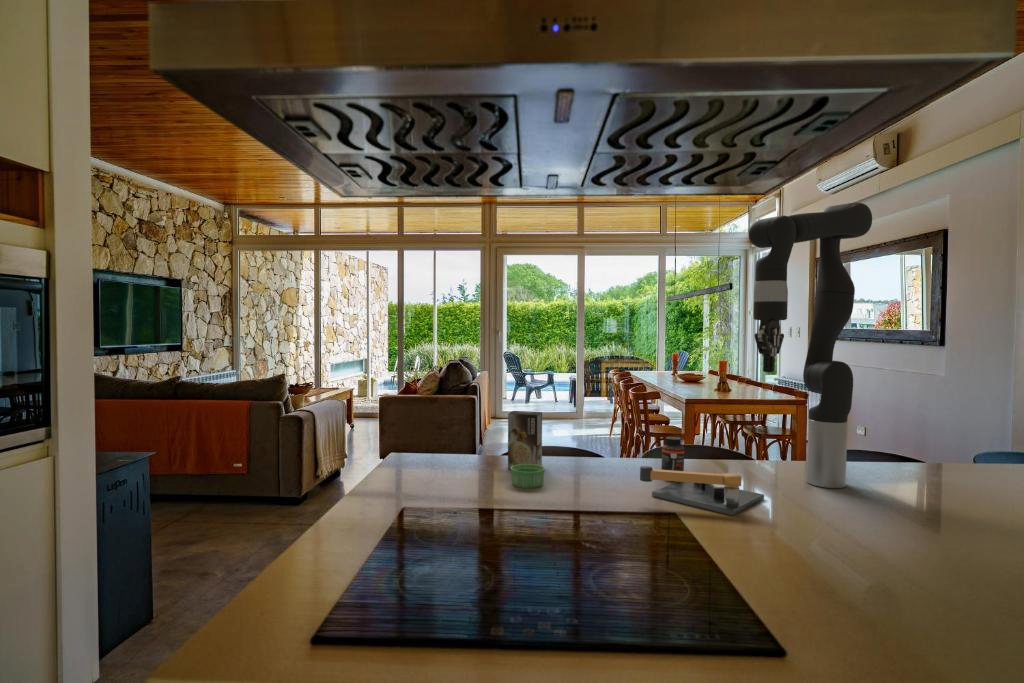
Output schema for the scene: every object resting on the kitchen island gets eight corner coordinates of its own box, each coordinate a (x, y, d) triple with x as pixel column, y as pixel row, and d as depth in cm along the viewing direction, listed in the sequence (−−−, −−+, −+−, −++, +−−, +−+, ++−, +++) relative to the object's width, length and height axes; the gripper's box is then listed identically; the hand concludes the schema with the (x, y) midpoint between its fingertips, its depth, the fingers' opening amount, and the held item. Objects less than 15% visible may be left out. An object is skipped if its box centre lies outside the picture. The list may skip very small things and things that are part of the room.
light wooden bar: (739, 485, 134) (740, 472, 134) (742, 489, 131) (742, 476, 130) (640, 477, 140) (640, 465, 140) (639, 481, 136) (640, 469, 136)
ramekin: (545, 480, 156) (545, 464, 156) (544, 489, 147) (544, 472, 147) (511, 479, 157) (512, 463, 157) (508, 488, 148) (509, 471, 148)
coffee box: (542, 466, 172) (543, 411, 172) (537, 471, 166) (538, 414, 165) (512, 463, 175) (513, 410, 174) (506, 468, 169) (507, 413, 168)
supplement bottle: (678, 483, 156) (679, 440, 155) (657, 479, 159) (658, 437, 159) (687, 478, 160) (687, 437, 160) (666, 475, 164) (667, 434, 164)
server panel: (689, 482, 156) (689, 463, 156) (765, 498, 142) (765, 477, 142) (652, 496, 143) (652, 475, 143) (732, 515, 129) (732, 492, 129)
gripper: (776, 298, 134) (774, 374, 134) (796, 301, 143) (794, 371, 144) (743, 299, 139) (742, 372, 140) (765, 301, 149) (763, 370, 149)
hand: (768, 372), depth 142 cm, fingers closed
